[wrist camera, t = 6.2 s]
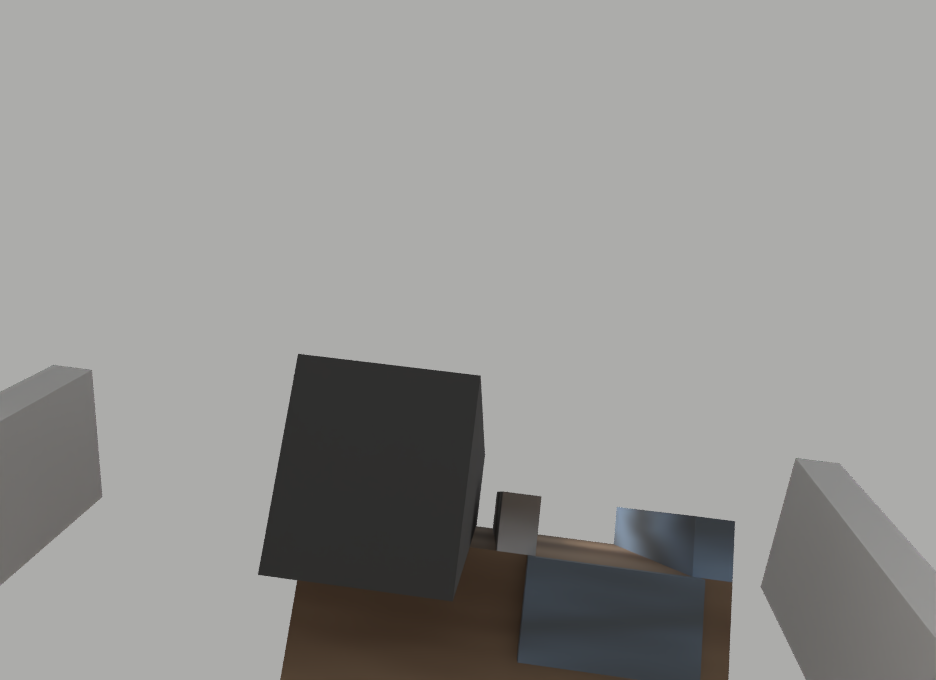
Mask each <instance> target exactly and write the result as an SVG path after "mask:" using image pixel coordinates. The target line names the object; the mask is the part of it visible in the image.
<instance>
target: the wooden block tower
mask: <svg viewBox="0 0 936 680" xmlns="http://www.w3.org/2000/svg"><path fill="white" fill-rule="evenodd" d="M540 503H541V497H540V496H533V495H524V494H516V493H509V492H497V497H496V506H495V515H494V524H493V529H492V528H485V527H477V526H476V528H475V532H474V535H473V538H472V541H471V544H470V548H469V551H468V554H467V557H466V560H465V564H464V567H463V570H462V573H461V577H460V580H459V583H458V586H457V589H456V593H455V596H454V599H453V601H445V600H438V599H431V598H424V597H416V596H409V595H402V594H394V593H387V592H380V591H373V590H365V589H358V588H351V587H344V586H336V585H329V584H322V583H314V582H307V581H300V580H297V585H296V591H295V597H294V603H293V609H292V615H291V620H290V626H289V633H288V638H287V644H286V650H285V657H284V662H283V668H282V674H281V679H280V680H728V674H729V672H728V671H729V650H730V626H731V602H732V578H733V577H732V575H733V553H734V530H735V528H734V527H735V522H734V521H728V520H720V519H712V518H704V517H697V516H688V515H680V514H671V513H662V512H654V511H645V510H637V509H628V508H620V507H617V513H616V526H615V539H614V544H606V543H599V542H591V541H584V540H576V539H568V538H561V537H553V536H545V535H538V524H539V514H540V505H541V504H540Z"/></svg>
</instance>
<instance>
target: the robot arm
mask: <svg viewBox="0 0 936 680" xmlns="http://www.w3.org/2000/svg"><path fill="white" fill-rule="evenodd" d="M101 497H102V489H101V476H100V464H99V452H98V440H97V427H96V415H95V403H94V392H93V379H92V370H88V369H80V368H72V367H64V366H56V365H53V366H51V367H49V368H47V369H45V370H43V371H41V372H39V373H37V374H35V375H33V376H31V377H29V378H27V379H25V380H23V381H21V382H19V383H17V384H15V385H13V386H11V387H9V388H7V389H5V390H3V391H1V392H0V585H1V584H2V583H4V582H5V581H6V580H7V579H8V578H9V577H10V576H11V575H13V574H14V573H15V572H16V571H17V570H19V569H20V568H21V567H22V566H23V565H24V564H25V563H27V562H28V561H29V560H30V559H31V558H32V557H34V556H35V555H36V554H37V553H38V552H39V551H40V550H41V549H43V548H44V547H45V546H46V545H47V544H48V543H49V542H51V541H52V540H53V539H54V538H55V537H57V536H58V535H59V534H60V533H61V532H62V531H63V530H65V529H66V528H67V527H68V526H69V525H70V524H71V523H73V522H74V521H75V520H76V519H77V518H78V517H80V516H81V515H82V514H83V513H84V512H85V511H86V510H88V509H89V508H90V507H91V506H92V505H93V504H95V502H97V501H98V500H99V499H100V498H101ZM761 588H762V590H763V592H764V594H765V596H766V598H767V600H768V602H769V604H770V607H771V609H772V611H773V613H774V615H775V617H776V619H777V621H778V623H779V625H780V627H781V629H782V631H783V633H784V635H785V637H786V639H787V641H788V643H789V646H790V647H791V650H792V652H793V654H794V656H795V658H796V660H797V662H798V664H799V666H800V668H801V670H802V672H803V674H804V676H805V679H806V680H936V571H935V570H934V569H933V568H932V567H931V566H930V564H929V563H928V562H927V561H926V560H925V559H924V558H923V557H922V556H921V554H920V553H919V552H918V551H917V550H916V549H915V548H914V547H913V545H912V544H911V543H910V542H909V541H908V540H907V539H906V538H905V536H904V535H903V534H902V533H901V532H900V531H899V530H898V529H897V528H896V526H895V525H894V524H893V523H892V522H891V521H890V520H889V518H888V517H887V516H886V515H885V514H884V513H883V512H882V511H881V510H880V508H879V507H878V506H877V505H876V504H875V503H874V502H873V501H872V499H871V498H870V497H869V496H868V495H867V494H866V493H865V492H864V490H863V489H862V488H861V487H860V486H859V485H858V484H857V483H856V481H855V480H854V479H853V478H852V477H851V476H850V475H849V474H848V472H847V471H846V470H845V469H844V468H843V467H842V466H841V465H840V464H839V463H830V462H823V461H814V460H807V459H799V458H796V459H795V463H794V466H793V470H792V474H791V477H790V481H789V485H788V489H787V492H786V496H785V500H784V504H783V507H782V511H781V515H780V518H779V522H778V525H777V529H776V533H775V537H774V540H773V544H772V548H771V551H770V555H769V559H768V563H767V566H766V570H765V573H764V577H763V581H762V585H761Z"/></svg>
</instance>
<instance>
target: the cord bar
mask: <svg viewBox="0 0 936 680" xmlns="http://www.w3.org/2000/svg"><path fill="white" fill-rule="evenodd" d="M484 450H485V449H484V432H483V413H482V394H481V376H478V375H469V374H461V373H453V372H445V371H436V370H427V369H420V368H410V367H403V366H394V365H386V364H378V363H369V362H361V361H352V360H344V359H336V358H328V357H319V356H311V355H302V354H298V358H297V363H296V369H295V374H294V380H293V386H292V391H291V396H290V402H289V408H288V413H287V418H286V424H285V429H284V435H283V440H282V446H281V452H280V457H279V462H278V468H277V473H276V479H275V484H274V490H273V495H272V502H271V506H270V512H269V518H268V523H267V528H266V534H265V539H264V545H263V551H262V556H261V562H260V567H259V573H258V575H264V576H271V577H278V578H285V579H293V580H300V581H307V582H314V583H322V584H329V585H336V586H344V587H351V588H358V589H365V590H373V591H380V592H387V593H394V594H402V595H409V596H416V597H424V598H431V599H438V600H445V601H453V599H454V596H455V593H456V589H457V586H458V583H459V580H460V577H461V573H462V570H463V567H464V564H465V560H466V557H467V554H468V551H469V548H470V544H471V541H472V538H473V535H474V532H475V528H476V525H477V517H478V508H479V500H480V491H481V483H482V475H483V465H484V457H485V451H484Z"/></svg>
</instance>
